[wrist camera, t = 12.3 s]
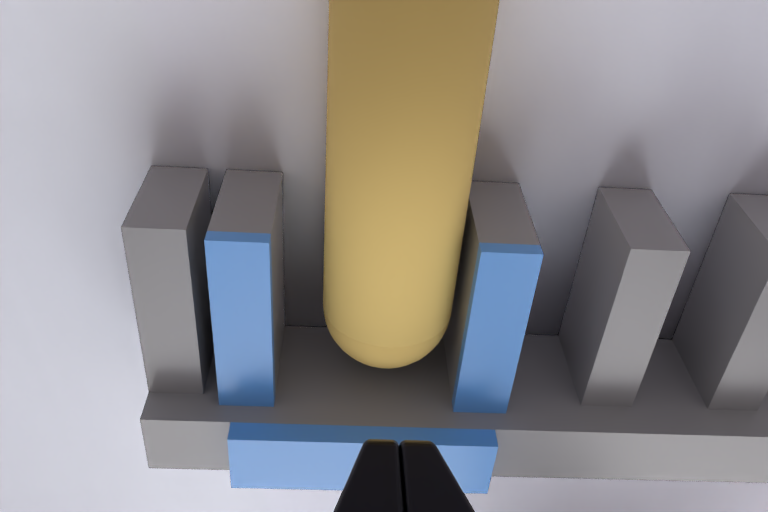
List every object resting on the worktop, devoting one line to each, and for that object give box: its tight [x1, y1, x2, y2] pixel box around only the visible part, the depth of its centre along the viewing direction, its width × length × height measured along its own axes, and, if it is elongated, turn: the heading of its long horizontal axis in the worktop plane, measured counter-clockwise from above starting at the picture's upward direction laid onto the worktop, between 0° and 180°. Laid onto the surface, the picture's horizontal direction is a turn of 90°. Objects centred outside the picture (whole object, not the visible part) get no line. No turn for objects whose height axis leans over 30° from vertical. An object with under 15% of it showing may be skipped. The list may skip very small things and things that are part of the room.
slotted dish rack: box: [121, 166, 768, 494], centre depth 21 cm, size 8×25×5 cm, turn 86°
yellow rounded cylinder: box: [323, 0, 499, 369], centre depth 18 cm, size 13×4×4 cm, turn 176°
